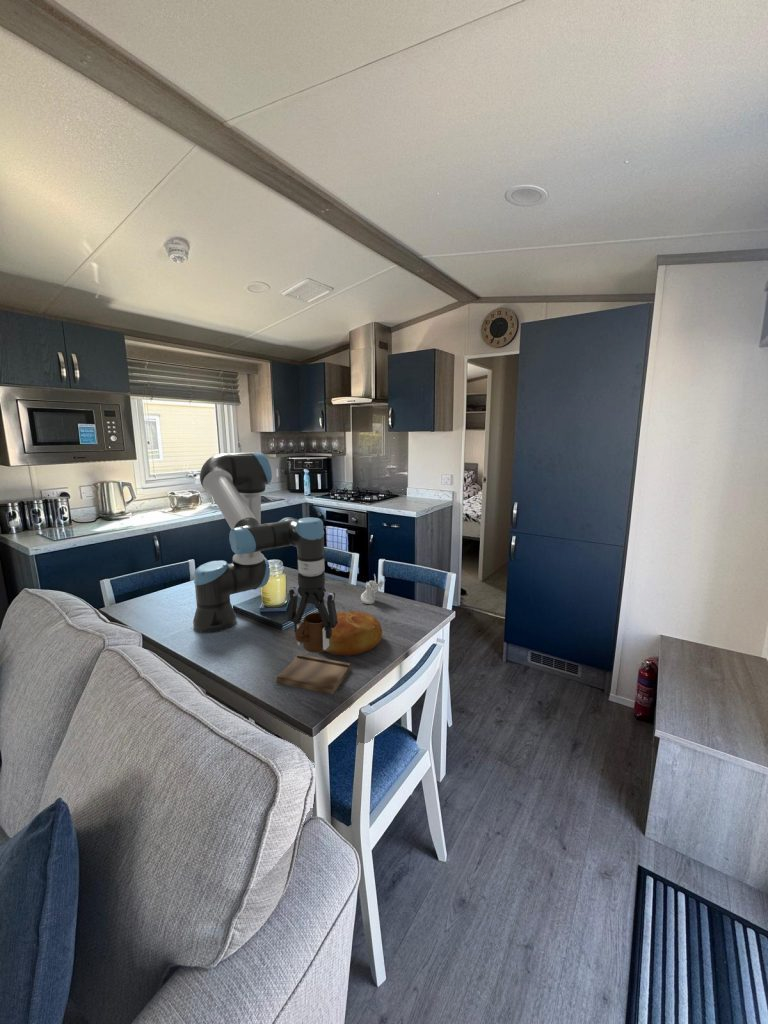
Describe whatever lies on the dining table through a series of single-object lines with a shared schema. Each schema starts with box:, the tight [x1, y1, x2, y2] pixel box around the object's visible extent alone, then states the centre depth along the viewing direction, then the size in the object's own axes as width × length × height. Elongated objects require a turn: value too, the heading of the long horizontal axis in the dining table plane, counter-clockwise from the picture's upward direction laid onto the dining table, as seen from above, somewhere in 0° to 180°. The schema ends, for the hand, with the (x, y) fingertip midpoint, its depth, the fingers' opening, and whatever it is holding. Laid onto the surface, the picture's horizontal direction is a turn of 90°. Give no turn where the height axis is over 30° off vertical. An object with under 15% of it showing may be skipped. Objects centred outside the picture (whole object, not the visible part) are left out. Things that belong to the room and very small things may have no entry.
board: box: [275, 653, 351, 695], centre depth 128 cm, size 18×13×2 cm
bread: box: [323, 610, 383, 656], centre depth 147 cm, size 23×23×10 cm
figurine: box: [360, 573, 386, 605], centre depth 181 cm, size 11×8×12 cm
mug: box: [294, 612, 325, 654], centre depth 126 cm, size 12×8×9 cm, turn 145°
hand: (313, 645), depth 127 cm, fingers closed on mug, 8 cm apart
